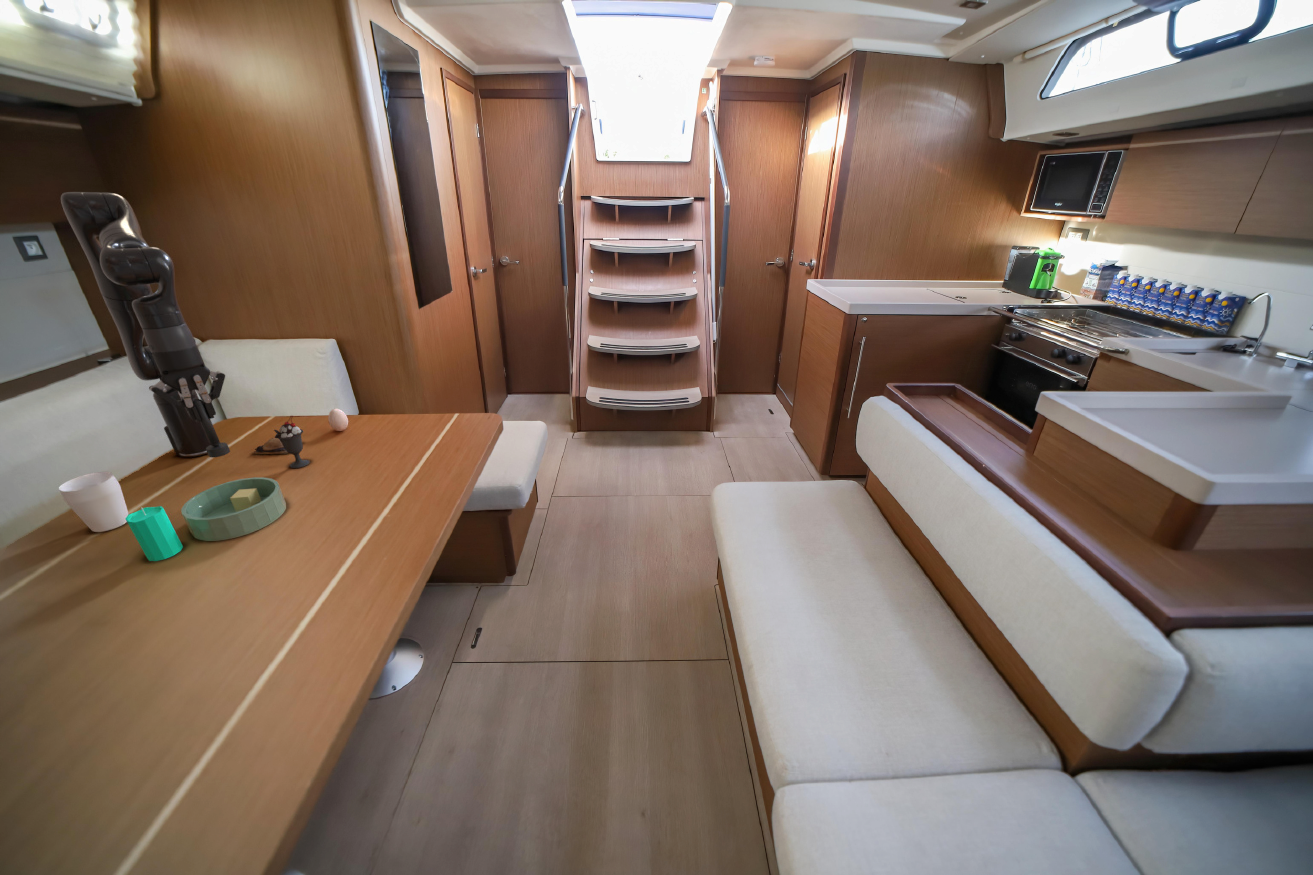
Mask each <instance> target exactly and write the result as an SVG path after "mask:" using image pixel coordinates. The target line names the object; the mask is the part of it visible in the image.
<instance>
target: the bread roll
mask: <svg viewBox="0 0 1313 875" xmlns="http://www.w3.org/2000/svg"><path fill="white" fill-rule="evenodd" d="M254 450H255V451H254V455H269V454H270V455H278V454H289V453H288V452H287V451H286V450H285V448H284V446H283V444H282V443H281V441H280V440H279V439H277V438H275V437H272V438H270V439H268V440H267V441H266V442H265V443H264V444H262V445H258V446H256V448H254Z"/></svg>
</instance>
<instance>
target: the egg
mask: <svg viewBox="0 0 1313 875" xmlns="http://www.w3.org/2000/svg"><path fill="white" fill-rule="evenodd" d="M327 421H328V424H329V426H330V428H331V429H332V430H334V431H335V432H336V431H337V432H343V431H345V430H346V429H347V428H348V426H349V419H348V416H347V414H346V413H345V412H344V411H342V409H339V408H333V409H331V410H330V411H329V413H328V417H327Z"/></svg>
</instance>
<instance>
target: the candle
mask: <svg viewBox="0 0 1313 875" xmlns="http://www.w3.org/2000/svg"><path fill="white" fill-rule="evenodd" d="M140 508H141V509H139V510H137V511H134V512H132V513H129V514H128V516H127V517H126V521H127V522H126V524H127V525H128V526H129V528H130V531H131V532H132V535H133V536H134V538H135V539H136V541H137V543H138V545H139V546H140V549H141V550H142V552H143V553H144V555H145V557H146V559H147V560H148V561H149V562H159V561H162V560H166V559H169V558H171V557H174V556H175V555H177V554H178V553H180V552H181V551H182V549H183V548H184V546H183V544H182V542H181V540H180V538H179V535H178V533H177V532H176V530H175V528H174V526H173V524H172V522H171V520H170V518H169V515H168V514H167V512H166V510H165V508H164V507H163V506H162V505H159V506H145V507H142V506H141V507H140Z"/></svg>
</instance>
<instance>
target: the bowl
mask: <svg viewBox="0 0 1313 875" xmlns="http://www.w3.org/2000/svg"><path fill="white" fill-rule="evenodd" d="M254 488H257V491H258V493H259V496H260V498H261V502H260V503H258V504H256V505H254V506H252V507H250V508H247V509H244V510H241V511H235V509H234V506H233V504H232V502H231V499H230V498H231V497H232V496H233V495H234V494H235V493H236V492H237V491H238V490H241V489H254ZM286 509H287V502H286V500H285V497H284V494H283V491H282V489H281V486H280V484H279V482H278V481H277V480H276V479H273V478H269V477H260V476H259V477H257V476H256V477H254V476H253V477H246V478H239V479H235V480H230V481H227V482H223V483H220V484H218V485H214V486H211V487H210V488H207V489H205V490H203V491H201V492H199V493H197V494H195V495H194V496H192V497H191V498H189V499H188V500H187V501H186V502H185V503H184V504H183V506H182V507H181V509H180V511H181V516H182V518H183V520H184V522H185V524H186V527H187V529H188V531H189V532H190V535H192V536H193V537H194V538H195V539H197V540H199V541H203V542H205V541H206V542H219V541H226V540H227V541H228V540H231V539H236V538H239V537H244V536H246V535H249V534H252V533H254V532H257V531H259V530H261V529H264V528H265V527H267V526H269V525H270V524H272V523H274V522H275V521H277V520H278V519H280V517H281V516H282V515H283V514H284V513H285V512H286Z"/></svg>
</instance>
